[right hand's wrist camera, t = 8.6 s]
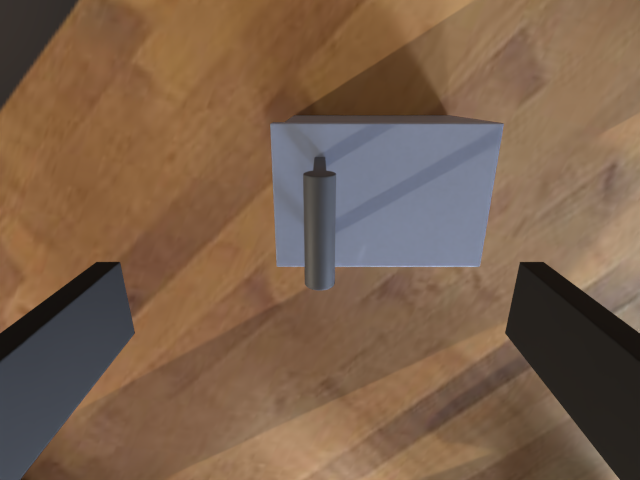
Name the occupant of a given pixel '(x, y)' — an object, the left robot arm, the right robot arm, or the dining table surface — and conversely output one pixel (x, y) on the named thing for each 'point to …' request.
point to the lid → (381, 194)
